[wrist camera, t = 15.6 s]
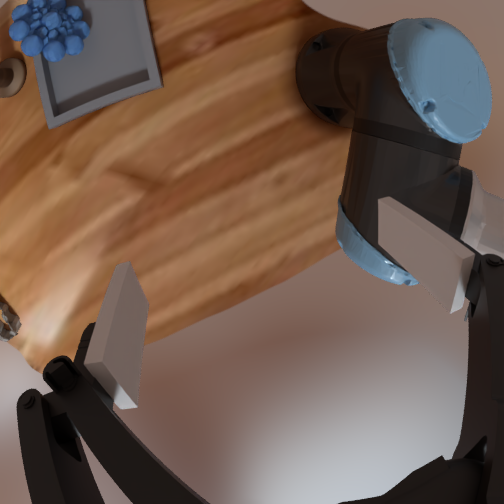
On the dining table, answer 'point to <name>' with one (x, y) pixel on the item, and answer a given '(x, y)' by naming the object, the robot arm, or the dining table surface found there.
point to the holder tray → (101, 62)
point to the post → (12, 77)
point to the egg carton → (12, 321)
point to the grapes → (49, 28)
